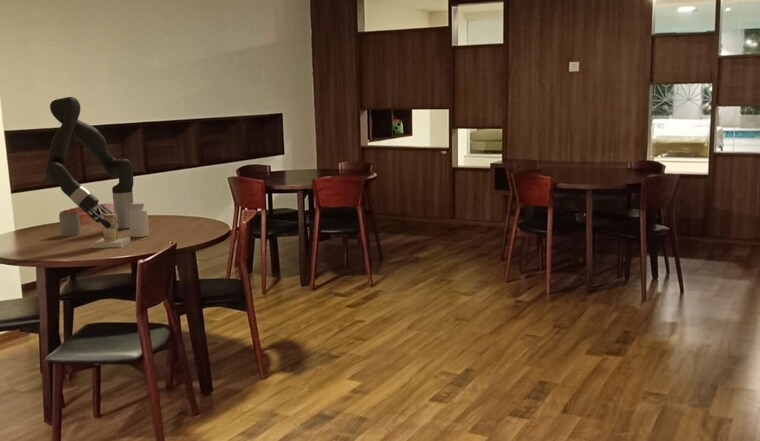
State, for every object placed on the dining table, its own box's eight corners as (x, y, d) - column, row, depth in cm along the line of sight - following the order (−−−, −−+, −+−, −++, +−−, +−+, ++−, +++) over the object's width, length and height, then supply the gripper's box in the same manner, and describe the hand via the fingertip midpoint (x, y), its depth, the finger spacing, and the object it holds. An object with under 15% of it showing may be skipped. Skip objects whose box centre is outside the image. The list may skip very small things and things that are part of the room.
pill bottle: (152, 234, 345) (150, 202, 343) (141, 238, 338) (139, 204, 335) (138, 234, 348) (135, 201, 345) (126, 237, 340) (124, 204, 338)
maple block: (108, 239, 325) (105, 214, 324) (118, 238, 325) (116, 213, 324) (104, 241, 321) (102, 215, 319) (114, 240, 321) (112, 215, 319)
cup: (73, 236, 346) (71, 215, 345) (57, 236, 348) (55, 214, 346) (84, 233, 354) (82, 212, 353) (68, 233, 356) (66, 212, 354)
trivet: (103, 242, 329) (102, 237, 329) (130, 241, 329) (130, 237, 329) (92, 247, 318) (92, 243, 317) (121, 247, 317) (120, 242, 317)
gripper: (83, 195, 313) (113, 221, 315) (96, 190, 327) (124, 216, 329) (71, 208, 314) (101, 234, 315) (85, 203, 328) (113, 228, 330)
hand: (113, 225), depth 322 cm, fingers open, 8 cm apart
